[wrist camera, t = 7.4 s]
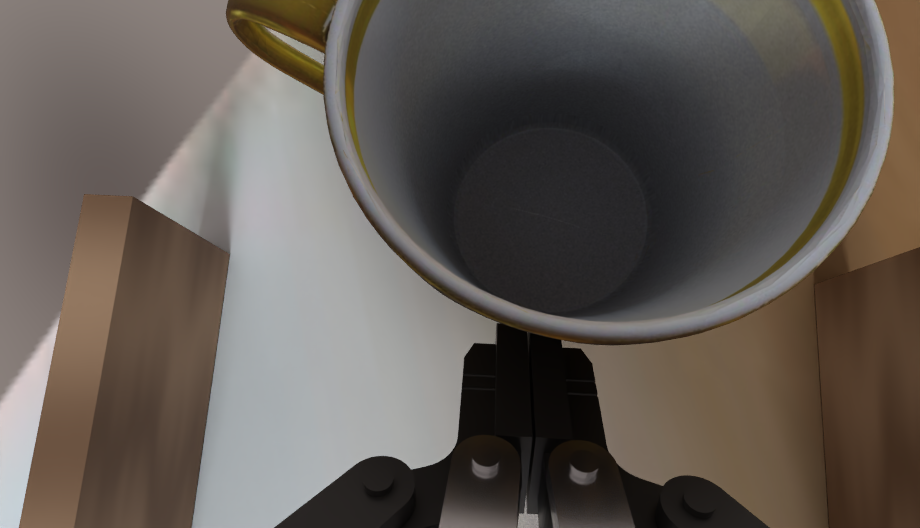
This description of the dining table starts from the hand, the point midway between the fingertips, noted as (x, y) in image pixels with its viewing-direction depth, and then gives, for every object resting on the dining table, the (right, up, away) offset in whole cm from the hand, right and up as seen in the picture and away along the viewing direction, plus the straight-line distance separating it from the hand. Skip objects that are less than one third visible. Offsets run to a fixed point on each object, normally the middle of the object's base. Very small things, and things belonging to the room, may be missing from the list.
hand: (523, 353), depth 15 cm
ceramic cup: (0, +4, +6) cm, 7 cm away
